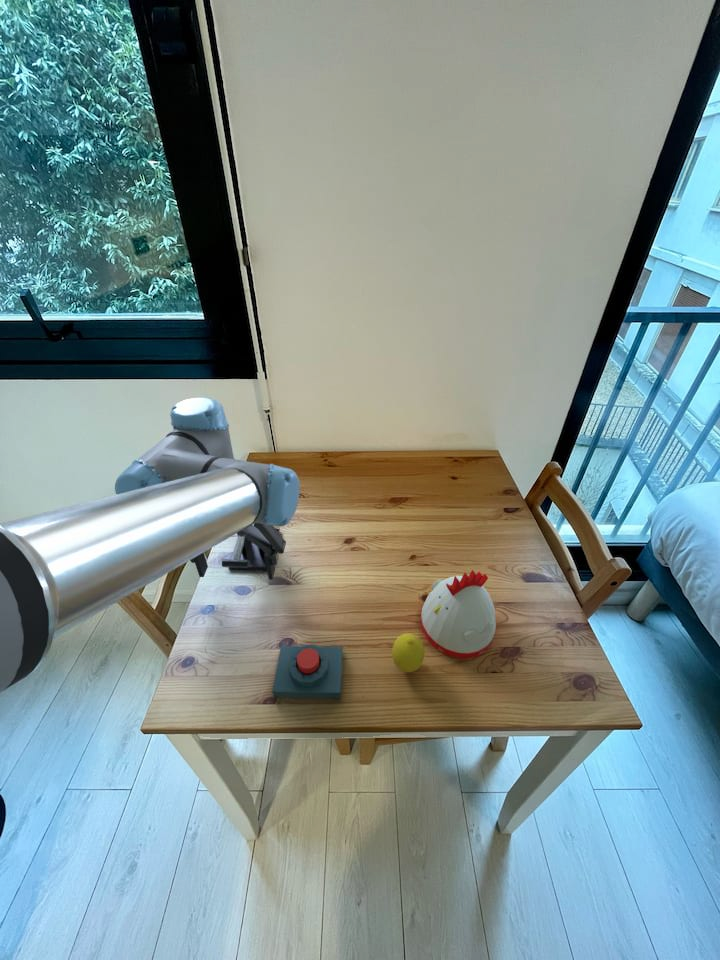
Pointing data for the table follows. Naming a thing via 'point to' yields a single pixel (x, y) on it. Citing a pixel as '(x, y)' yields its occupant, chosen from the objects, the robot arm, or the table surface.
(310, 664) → the button
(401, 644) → the lemon
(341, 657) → the button box
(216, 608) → the table surface
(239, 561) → the lever
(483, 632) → the kitchen timer
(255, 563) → the bracket
